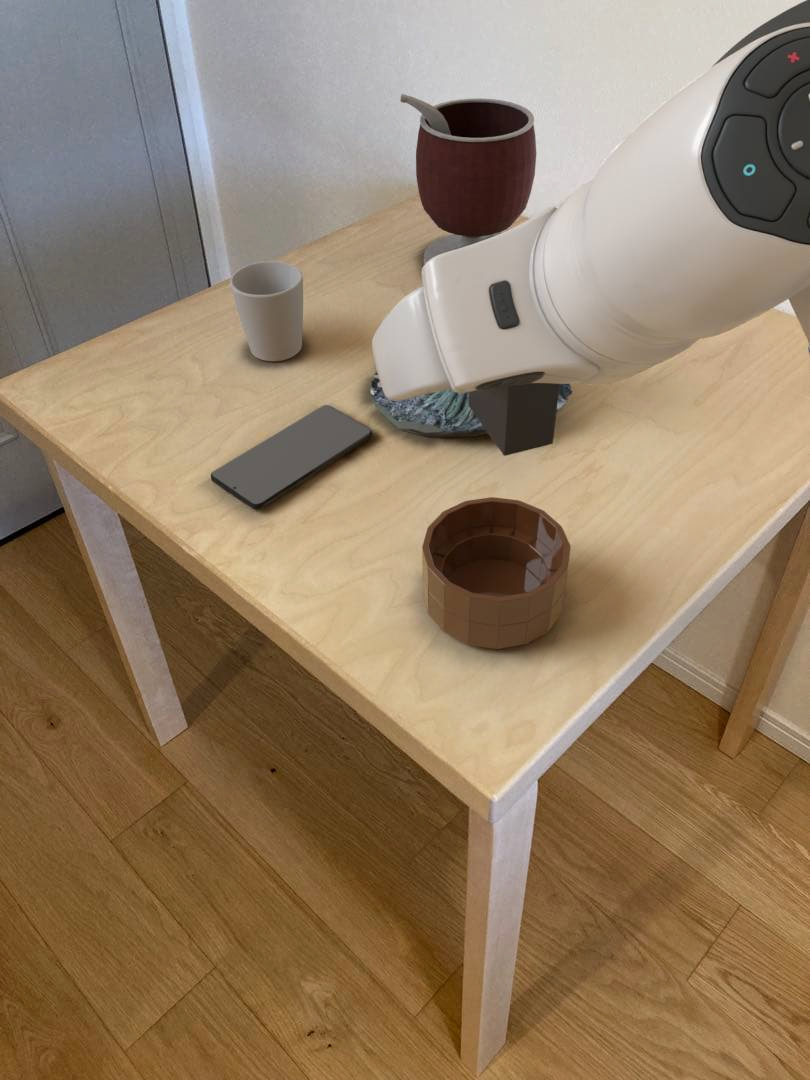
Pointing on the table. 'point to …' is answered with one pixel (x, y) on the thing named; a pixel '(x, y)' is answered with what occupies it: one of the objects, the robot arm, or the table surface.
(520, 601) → the bowl
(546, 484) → the table surface
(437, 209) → the mate gourd
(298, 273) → the cup
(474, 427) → the tree stump
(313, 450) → the smartphone
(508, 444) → the case
